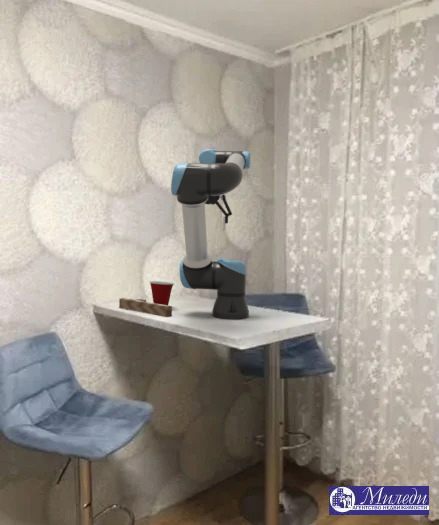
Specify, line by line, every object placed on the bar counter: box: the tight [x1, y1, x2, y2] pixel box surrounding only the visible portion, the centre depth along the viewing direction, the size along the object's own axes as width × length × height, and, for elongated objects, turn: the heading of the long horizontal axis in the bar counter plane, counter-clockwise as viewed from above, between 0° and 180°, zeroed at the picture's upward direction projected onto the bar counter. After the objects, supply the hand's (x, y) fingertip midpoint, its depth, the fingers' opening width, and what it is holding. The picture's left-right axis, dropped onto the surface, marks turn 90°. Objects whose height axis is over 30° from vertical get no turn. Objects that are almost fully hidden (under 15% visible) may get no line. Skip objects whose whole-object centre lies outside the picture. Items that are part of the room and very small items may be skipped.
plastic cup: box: [149, 280, 175, 306], centre depth 207 cm, size 11×11×12 cm
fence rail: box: [118, 297, 173, 318], centre depth 202 cm, size 29×11×4 cm, turn 51°
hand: (209, 230), depth 220 cm, fingers open, 13 cm apart
